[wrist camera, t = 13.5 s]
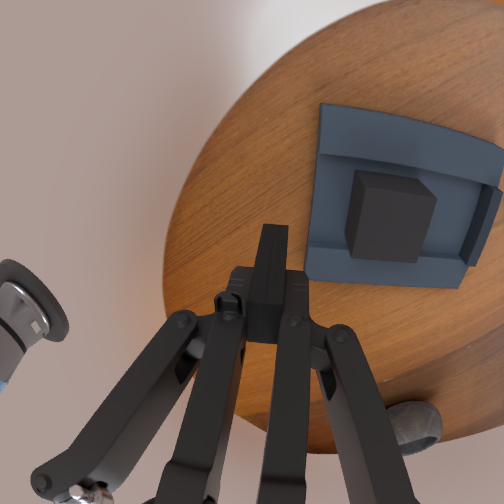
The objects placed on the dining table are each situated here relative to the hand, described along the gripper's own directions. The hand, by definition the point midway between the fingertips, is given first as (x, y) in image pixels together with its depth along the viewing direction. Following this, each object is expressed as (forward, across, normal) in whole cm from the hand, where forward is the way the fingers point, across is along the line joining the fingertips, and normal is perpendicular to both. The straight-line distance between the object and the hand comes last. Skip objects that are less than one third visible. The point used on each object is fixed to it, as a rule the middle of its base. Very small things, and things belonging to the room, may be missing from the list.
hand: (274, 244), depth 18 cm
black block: (+8, +9, 0) cm, 12 cm away
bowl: (+9, +28, -42) cm, 51 cm away
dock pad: (+9, +12, 0) cm, 15 cm away
